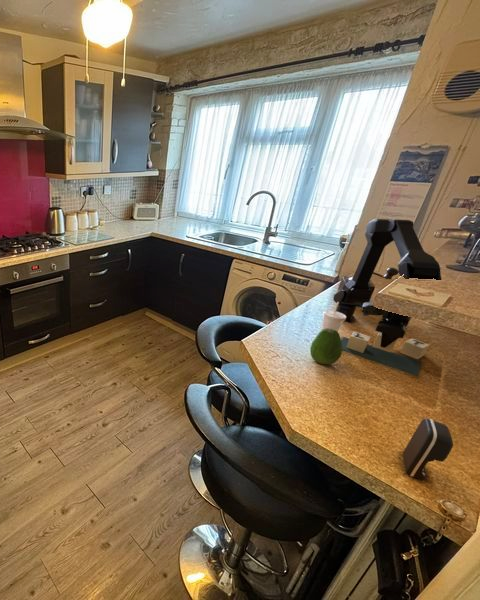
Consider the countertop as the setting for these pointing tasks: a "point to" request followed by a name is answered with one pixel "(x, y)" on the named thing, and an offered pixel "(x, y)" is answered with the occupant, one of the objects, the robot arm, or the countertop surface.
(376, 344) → the tile
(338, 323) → the smoothie
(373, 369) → the countertop surface
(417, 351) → the tile
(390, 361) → the word mat
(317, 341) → the avocado
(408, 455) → the battery charger
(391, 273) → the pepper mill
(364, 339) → the tile
